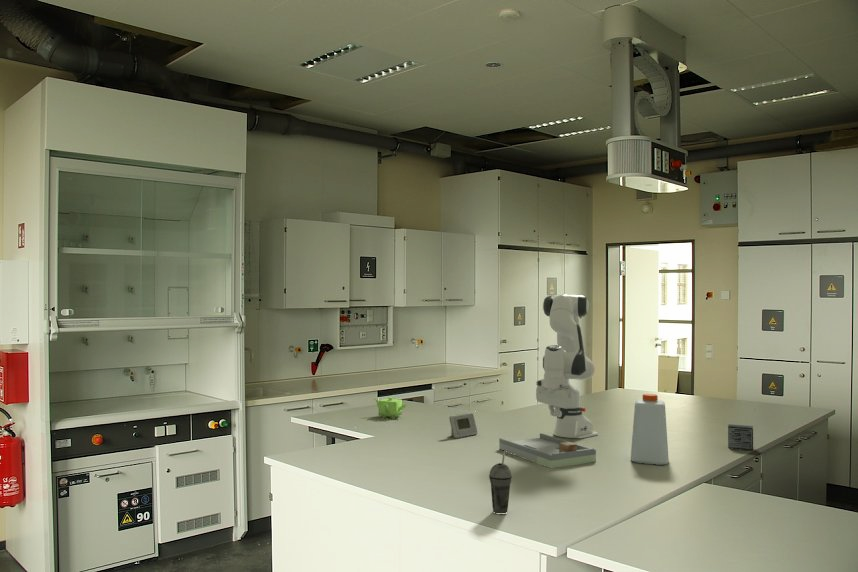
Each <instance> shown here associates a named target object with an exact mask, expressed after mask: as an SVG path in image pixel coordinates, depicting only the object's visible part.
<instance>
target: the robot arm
mask: <svg viewBox="0 0 858 572" xmlns="http://www.w3.org/2000/svg"><path fill="white" fill-rule="evenodd" d="M589 309H590V303H589V300H588V298H587V296H585V295H581V294H578V295H577V294H558V295H548V296H545V298H544V299H543V302H542V311H543V313H544V315H545V316H547V317H549V326H550V328H551V330H553V331H554V333H556V343H557V344H556V345H555V344H554V345H553V344H552V345H551V344H550V345H547V346H546V347H545V349H544V356H543V357H542V368H543V371H544V374H543V378H542V379H540V380H536V382H535V383H536V390H535V399H536V401H537V402H538V403H540V404H541V403H542V404H544V405H548V409H549V413H550V416H553V417H555V418H556V419H555V427H554V430H553V435H554V436H557V437H561V438H570V439H571V438H572V439H573V438H574V439H585V438H589V437H594V436H597V435H598V434H599V433H598V432H597V431H595V430H594V428H593V423H592V421H591V420H590V419H589V418H587V417H586V415H584V414H583V413H585V412H587V408H586V407H581V406H580V405H581V403H580V401H581V400H580V397H581V396H580V395H581V394H580V391H579V389H578V388H577V387H575V386H574V385H573V384H571V382H570V380H578V381H581V380H590V379H591V378H592V377H593V376H594V374H595V370H596V369H595V364H594V363H593V361H592V360H591V359H590V358H589V357H588V356H587V355H586V354H585V348H584V340H583V335H582V327H581V326H580V320H579V319H582V318H583V317H586V316H587V314H588V312H589Z"/></svg>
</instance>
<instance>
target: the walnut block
mask: <svg viewBox="0 0 858 572" xmlns="http://www.w3.org/2000/svg"><path fill="white" fill-rule="evenodd" d="M571 442H572V441H568V442H563V443H559V453H561V452H569V451H576V450H577V444H578V443H575V442H572V443H571ZM574 443H575V444H574Z"/></svg>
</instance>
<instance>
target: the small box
mask: <svg viewBox="0 0 858 572" xmlns="http://www.w3.org/2000/svg"><path fill="white" fill-rule="evenodd" d="M727 427H728V428H727V433H728V434H727V436H728V437H727V439H728V441H727V442H728V445H727V448H733V449H732V450H739V449H742V450H741V451H749V450H750V451H752V452H753V451H754V426H753V425H743V424H733V423H732V424H727Z"/></svg>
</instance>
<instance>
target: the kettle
mask: <svg viewBox="0 0 858 572" xmlns="http://www.w3.org/2000/svg"><path fill="white" fill-rule="evenodd" d="M373 400H375V402H376V406H377V408H378V416H380V417H381V419H386V418H387V417H390V418H391V419H393V420H395V419H396V418H399V416H401V415H402V414H403V410H404V409H405V408H406V407H407V406H408V405H407V404H406V403H403V399H398V398H397V396H396V397H392V396H388V398H382V399H380V400H379V399H378V398H373Z"/></svg>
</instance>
